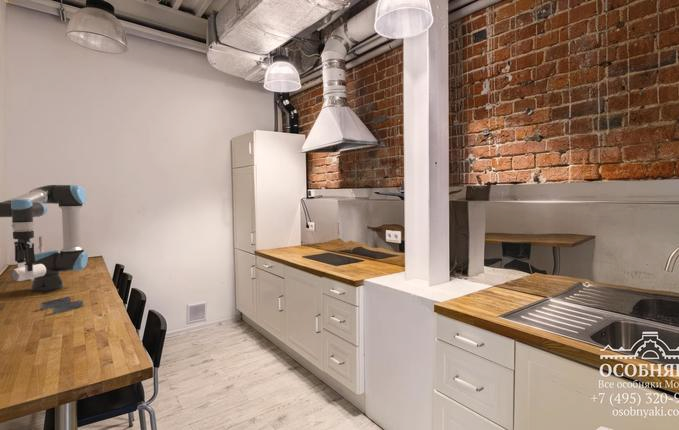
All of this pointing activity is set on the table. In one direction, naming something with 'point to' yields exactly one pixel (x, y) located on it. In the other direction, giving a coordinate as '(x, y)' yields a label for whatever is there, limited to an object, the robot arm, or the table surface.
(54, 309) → the slot guide
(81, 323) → the table surface
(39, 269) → the can
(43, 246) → the candlestick
